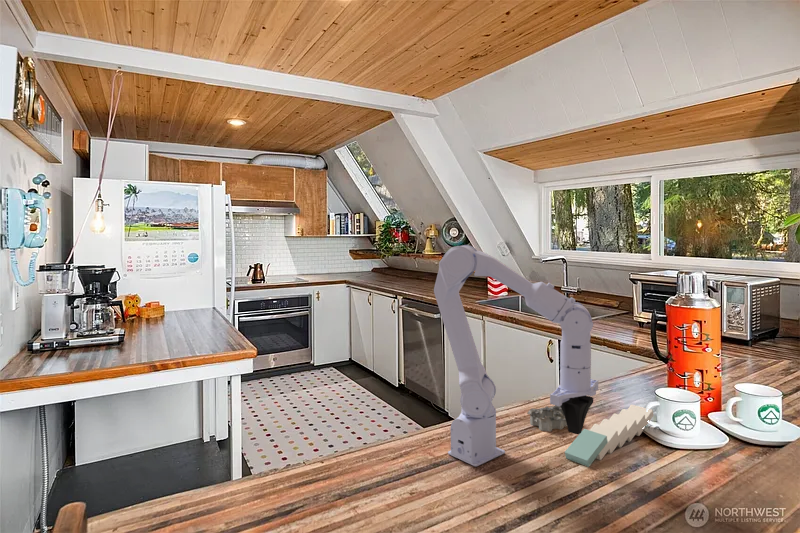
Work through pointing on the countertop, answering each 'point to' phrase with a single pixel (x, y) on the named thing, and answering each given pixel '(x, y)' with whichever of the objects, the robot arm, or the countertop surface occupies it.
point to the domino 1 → (586, 447)
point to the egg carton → (547, 418)
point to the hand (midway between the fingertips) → (574, 432)
